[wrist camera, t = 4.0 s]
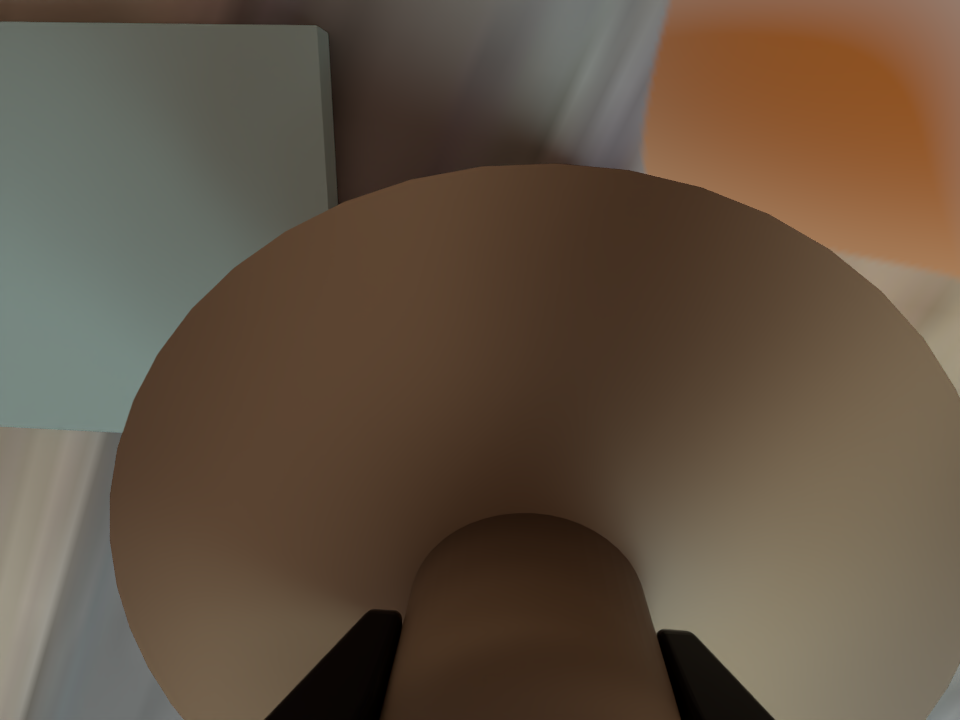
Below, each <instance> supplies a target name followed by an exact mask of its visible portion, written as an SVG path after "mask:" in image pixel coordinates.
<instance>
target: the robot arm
mask: <svg viewBox="0 0 960 720" xmlns="http://www.w3.org/2000/svg"><path fill="white" fill-rule="evenodd" d="M401 630H402V616H401V613H399V612H398V611H396V610H383V609H371V610H369V611H367V612H366V613H365V614H364V615H363V616H362V617H361V618H360V619H359V620H358V622H357V623H356V624H355V625H354V626H353V627H352V628H351V629H350V630H349V631H348V632H347V633H346V634H345V635H344V636H343V637H342V638H341V639H340V640H339V641H338V642H337V644H336V645H335V646H334V647H333V648H332V649H331V650H330V651H329V652H328V653H327V654H326V655H325V656H324V657H323V658H322V659H321V660H320V661H319V662H318V663H317V664H316V666H315V667H314V668H313V669H312V670H311V671H310V672H309V673H308V674H307V675H306V676H305V677H304V678H303V679H302V680H301V681H300V682H299V683H298V684H297V685H296V686H295V688H294V689H293V690H292V691H291V692H290V693H289V694H288V695H287V696H286V697H285V698H284V699H283V700H282V701H281V702H280V703H279V704H278V705H277V706H276V707H275V708H274V710H273V711H272V712H271V713H270V714H269V715H268V716H267V717H266V718H265V719H264V720H379V717H380V713H381V709H382V705H383V701H384V697H385V693H386V689H387V685H388V681H389V677H390V673H391V669H392V665H393V662H394V658H395V654H396V650H397V646H398V642H399V638H400V634H401ZM656 635H657V639H658V642H659V646H660V649H661V652H662V656H663V659H664V663H665V666H666V669H667V673H668V676H669V679H670V683H671V686H672V690H673V693H674V696H675V700H676V703H677V707H678V710H679V713H680V717H681V720H775V719H774V718H773V717H772V716H771V715H770V713H769V712H768V711H767V710H766V709H765V708H764V707H763V706H762V705H761V704H760V703H759V702H758V701H757V700H756V699H755V698H754V697H753V695H752V694H751V693H750V692H749V691H748V690H747V689H746V688H745V687H744V686H743V685H742V684H741V683H740V682H739V681H738V680H737V679H736V677H735V676H734V675H733V674H732V673H731V672H730V671H729V670H728V669H727V668H726V667H725V666H724V665H723V664H722V663H721V662H720V661H719V659H718V658H717V657H716V656H715V655H714V654H713V653H712V652H711V651H710V650H709V649H708V648H707V647H706V646H705V645H704V644H703V643H702V642H701V640H700V639H699V638H698V637H697V636H696V635H695V634H693V633H692V632H690V631H686V630H672V629H661V630H659V631H658V632H657V634H656Z"/></svg>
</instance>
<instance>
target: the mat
mask: <svg viewBox="0 0 960 720" xmlns="http://www.w3.org/2000/svg"><path fill="white" fill-rule="evenodd" d="M337 205H338V196H337V179H336V161H335V143H334V126H333V108H332V91H331V73H330V56H329V38H328V33H327V32H326V31H324V30H323V29H321V28H320V27H318V26H317V25H247V24H160V23H74V22H0V426H1V427H20V428H39V429H58V430H77V431H96V432H115V433H123V430H124V427H125V424H126V421H127V418H128V415H129V412H130V409H131V406H132V403H133V400H134V398H135V396H136V394H137V392H138V390H139V388H140V387H141V385H142V383H143V381H144V379H145V377H146V375H147V373H148V371H149V369H150V368H151V366H152V364H153V362H154V360H155V358H156V356H157V354H158V353H159V351H160V350H161V349H162V347H163V346H164V345H165V343H166V342H167V341H168V339H169V338H170V337H171V335H172V334H173V333H174V331H175V330H176V329H177V327H178V326H179V325H180V323H181V322H182V321H183V319H184V318H185V317H186V315H187V314H188V313H189V311H190V310H191V309H192V308H193V307H194V306H195V305H196V304H197V303H198V302H199V301H200V300H201V299H202V298H203V297H204V296H205V295H206V294H207V293H208V292H209V291H210V290H211V289H213V288H214V287H215V286H216V285H217V284H218V283H219V282H220V281H221V280H222V279H223V278H224V277H225V276H226V275H227V274H228V273H229V272H230V271H231V270H232V269H233V268H234V267H236V266H237V265H239V264H240V263H241V262H243V261H244V260H246V259H247V258H248V257H250V256H251V255H253V254H254V253H256V252H257V251H258V250H260V249H261V248H263V247H264V246H266V245H267V244H268V243H270V242H271V241H273V240H274V239H275V238H277V237H278V236H280V235H281V234H283V233H284V232H285V231H287V230H289V229H291V228H293V227H295V226H297V225H299V224H301V223H303V222H305V221H307V220H309V219H311V218H313V217H315V216H317V215H319V214H321V213H323V212H325V211H327V210H329V209H331V208H333V207H335V206H337Z"/></svg>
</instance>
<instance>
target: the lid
mask: <svg viewBox="0 0 960 720" xmlns="http://www.w3.org/2000/svg"><path fill="white" fill-rule="evenodd" d="M110 544H111V550H112V557H113V563H114V570H115V576H116V583H117V587H118V591H119V594H120V597H121V600H122V604H123V607H124V610H125V614H126V617H127V620H128V623H129V627H130V629H131V631H132V633H133V636H134V638H135V640H136V642H137V644H138V646H139V649H140V651H141V653H142V655H143V657H144V659H145V661H146V664H147V666H148V668H149V669H150V671H151V673H152V674H153V676H154V677H155V679H156V680H157V682H158V684H159V685H160V687H161V688H162V690H163V692H164V693H165V695H166V696H167V698H168V700H169V701H170V703H171V704H172V705H173V707H174V708H175V709H176V710H177V712H178V713H179V714H180V715H181V717H182V718H183V719H184V720H264V719H265V718H266V717H267V716H268V715H269V714H270V713H271V712H272V711H273V710H274V708H275V707H276V706H277V705H278V704H279V703H280V702H281V701H282V700H283V699H284V698H285V697H286V696H287V695H288V694H289V693H290V692H291V691H292V690H293V689H294V688H295V686H296V685H297V684H298V683H299V682H300V681H301V680H302V679H303V678H304V677H305V676H306V675H307V674H308V673H309V672H310V671H311V670H312V669H313V668H314V667H315V666H316V664H317V663H318V662H319V661H320V660H321V659H322V658H323V657H324V656H325V655H326V654H327V653H328V652H329V651H330V650H331V649H332V648H333V647H334V646H335V645H336V644H337V642H338V641H339V640H340V639H341V638H342V637H343V636H344V635H345V634H346V633H347V632H348V631H349V630H350V629H351V628H352V627H353V626H354V625H355V624H356V623H357V622H358V620H359V619H360V618H361V617H362V616H363V615H364V614H365V613H366V612H367V611H369V610H371V609H383V610H396V611H398V612H399V613H401V616H402V630H401V634H400V638H399V642H398V646H397V650H396V654H395V658H394V662H393V665H392V669H391V673H390V677H389V681H388V685H387V689H386V693H385V697H384V701H383V705H382V709H381V713H380V717H379V720H681V717H680V713H679V710H678V707H677V703H676V700H675V696H674V693H673V690H672V686H671V683H670V679H669V676H668V673H667V669H666V666H665V663H664V659H663V656H662V652H661V649H660V646H659V642H658V639H657V635H656V634H657V632H658V631H659V630H661V629H672V630H686V631H690V632H692V633H693V634H695V635H696V636H697V637H698V638H699V639H700V640H701V642H702V643H703V644H704V645H705V646H706V647H707V648H708V649H709V650H710V651H711V652H712V653H713V654H714V655H715V656H716V657H717V658H718V659H719V661H720V662H721V663H722V664H723V665H724V666H725V667H726V668H727V669H728V670H729V671H730V672H731V673H732V674H733V675H734V676H735V677H736V679H737V680H738V681H739V682H740V683H741V684H742V685H743V686H744V687H745V688H746V689H747V690H748V691H749V692H750V693H751V694H752V695H753V697H754V698H755V699H756V700H757V701H758V702H759V703H760V704H761V705H762V706H763V707H764V708H765V709H766V710H767V711H768V712H769V713H770V715H771V716H772V717H773V718H774V719H775V720H926V718H927V717H928V715H929V714H930V713H931V711H932V710H933V708H934V707H935V705H936V704H937V702H938V701H939V699H940V698H941V696H942V695H943V694H944V692H945V691H946V689H947V688H948V686H949V684H950V682H951V680H952V678H953V676H954V674H955V672H956V670H957V668H958V666H959V664H960V398H959V396H958V393H957V391H956V389H955V387H954V386H953V384H952V383H951V381H950V379H949V378H948V376H947V375H946V373H945V371H944V370H943V368H942V367H941V365H940V364H939V362H938V360H937V359H936V357H935V356H934V354H933V352H932V351H931V349H930V348H929V346H928V345H927V343H926V341H925V340H924V338H923V337H922V336H921V335H920V334H919V333H918V332H917V330H916V329H915V328H914V327H913V326H912V325H911V324H910V323H909V322H908V320H907V319H906V318H905V317H904V316H903V315H902V314H901V313H900V312H899V310H898V309H897V308H896V307H895V306H894V305H893V304H892V303H891V301H890V300H889V299H888V298H887V297H886V296H885V295H884V294H883V293H882V291H880V290H879V289H878V288H877V287H875V286H874V285H873V284H872V283H870V282H869V281H868V280H867V279H866V278H864V277H863V276H862V275H861V274H859V273H858V272H857V271H856V270H854V269H853V268H852V267H851V266H849V265H848V264H847V263H846V262H844V261H843V260H842V259H841V258H840V257H838V256H837V255H836V254H835V253H833V252H832V251H831V250H830V249H828V248H826V247H825V246H823V245H821V244H819V243H818V242H816V241H814V240H812V239H811V238H809V237H807V236H805V235H804V234H802V233H800V232H799V231H797V230H795V229H793V228H792V227H790V226H788V225H787V224H785V223H783V222H781V221H780V220H778V219H776V218H774V217H773V216H771V215H769V214H767V213H764V212H762V211H759V210H757V209H754V208H752V207H749V206H747V205H744V204H742V203H739V202H737V201H734V200H731V199H729V198H727V197H724V196H722V195H719V194H717V193H714V192H712V191H709V190H706V189H704V188H701V187H697V186H692V185H689V184H685V183H680V182H676V181H672V180H668V179H663V178H660V177H655V176H651V175H647V174H643V173H639V172H634V171H630V170H621V169H610V168H600V167H589V166H579V165H568V164H558V163H551V164H528V165H504V166H482V167H476V168H471V169H465V170H460V171H455V172H449V173H444V174H438V175H433V176H427V177H422V178H416V179H411V180H408V181H405V182H402V183H399V184H396V185H393V186H390V187H387V188H384V189H381V190H378V191H375V192H372V193H369V194H366V195H363V196H360V197H357V198H354V199H351V200H348V201H345V202H343V203H341V204H339V205H337V206H335V207H333V208H331V209H329V210H327V211H325V212H323V213H321V214H319V215H317V216H315V217H313V218H311V219H309V220H307V221H305V222H303V223H301V224H299V225H297V226H295V227H293V228H291V229H289V230H287V231H285V232H284V233H283V234H281V235H280V236H278V237H277V238H275V239H274V240H273V241H271V242H270V243H268V244H267V245H266V246H264V247H263V248H261V249H260V250H258V251H257V252H256V253H254V254H253V255H251V256H250V257H248V258H247V259H246V260H244V261H243V262H241V263H240V264H239V265H237V266H236V267H234V268H233V269H232V270H231V271H230V272H229V273H228V274H227V275H226V276H225V277H224V278H223V279H222V280H221V281H220V282H219V283H218V284H217V285H216V286H215V287H214V288H213V289H211V290H210V291H209V292H208V293H207V294H206V295H205V296H204V297H203V298H202V299H201V300H200V301H199V302H198V303H197V304H196V305H195V306H194V307H193V308H192V309H191V310H190V311H189V313H188V314H187V315H186V317H185V318H184V319H183V321H182V322H181V323H180V325H179V326H178V327H177V329H176V330H175V331H174V333H173V334H172V335H171V337H170V338H169V339H168V341H167V342H166V343H165V345H164V346H163V347H162V349H161V350H160V351H159V353H158V354H157V356H156V358H155V360H154V362H153V364H152V366H151V368H150V369H149V371H148V373H147V375H146V377H145V379H144V381H143V383H142V385H141V387H140V388H139V390H138V392H137V394H136V396H135V398H134V400H133V403H132V406H131V409H130V412H129V415H128V418H127V421H126V424H125V427H124V430H123V433H122V436H121V439H120V442H119V445H118V448H117V455H116V461H115V467H114V473H113V480H112V486H111V492H110Z"/></svg>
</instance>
